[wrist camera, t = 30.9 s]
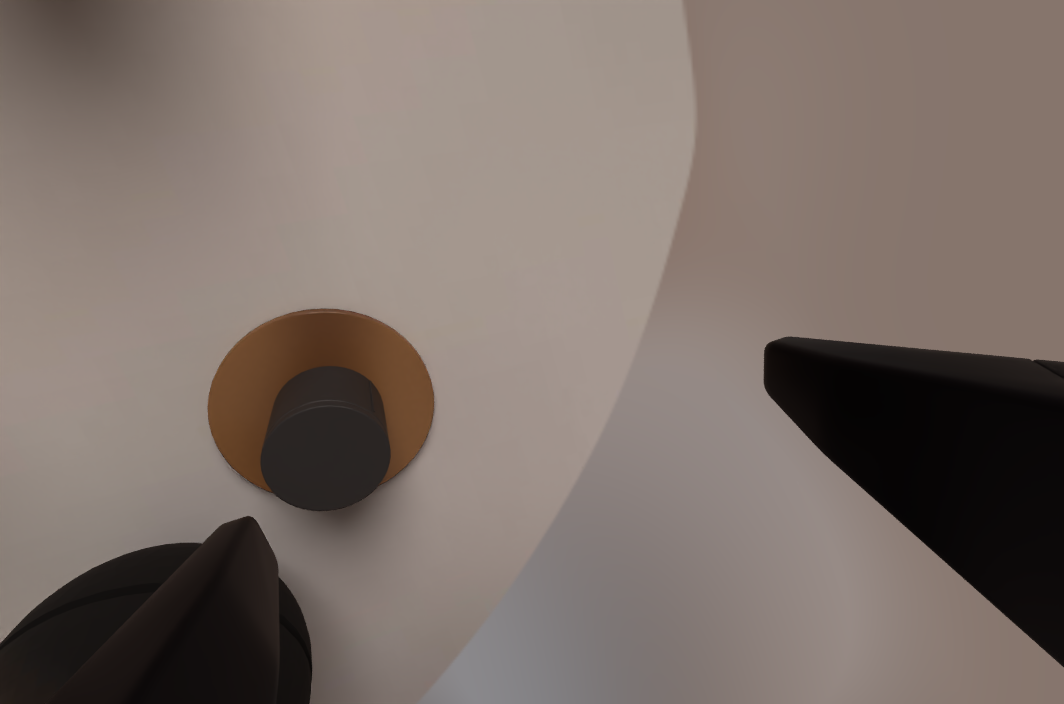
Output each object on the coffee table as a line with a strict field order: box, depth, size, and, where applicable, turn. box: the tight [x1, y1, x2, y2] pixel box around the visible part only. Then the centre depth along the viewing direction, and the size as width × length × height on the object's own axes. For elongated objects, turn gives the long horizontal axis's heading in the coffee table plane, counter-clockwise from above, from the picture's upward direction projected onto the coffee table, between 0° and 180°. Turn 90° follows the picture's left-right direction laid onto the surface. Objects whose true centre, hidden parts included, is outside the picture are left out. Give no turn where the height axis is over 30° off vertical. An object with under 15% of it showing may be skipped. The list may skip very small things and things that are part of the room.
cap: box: [260, 366, 391, 511], centre depth 18 cm, size 4×4×3 cm
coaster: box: [208, 309, 434, 493], centre depth 20 cm, size 8×8×1 cm
